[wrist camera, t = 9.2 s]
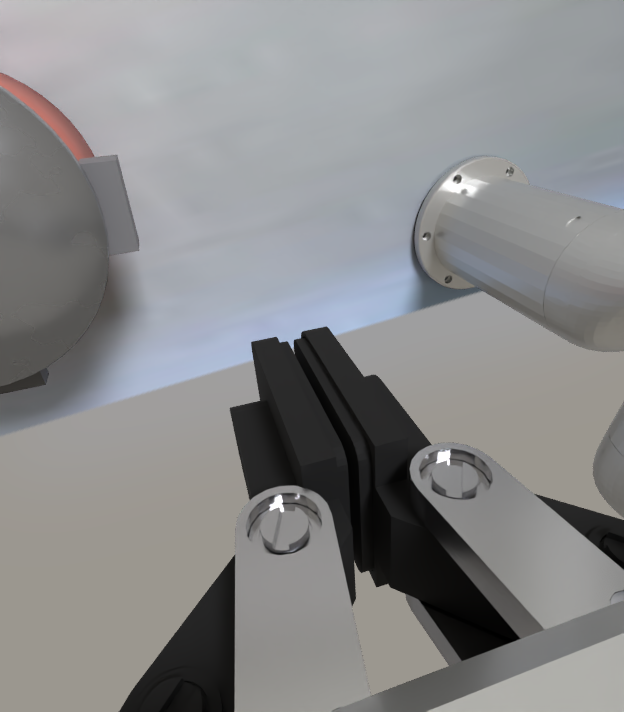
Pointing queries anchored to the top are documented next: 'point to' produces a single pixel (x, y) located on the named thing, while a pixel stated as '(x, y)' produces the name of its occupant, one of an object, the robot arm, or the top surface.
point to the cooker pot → (103, 180)
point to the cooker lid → (44, 244)
